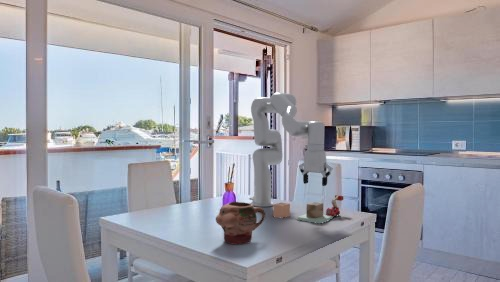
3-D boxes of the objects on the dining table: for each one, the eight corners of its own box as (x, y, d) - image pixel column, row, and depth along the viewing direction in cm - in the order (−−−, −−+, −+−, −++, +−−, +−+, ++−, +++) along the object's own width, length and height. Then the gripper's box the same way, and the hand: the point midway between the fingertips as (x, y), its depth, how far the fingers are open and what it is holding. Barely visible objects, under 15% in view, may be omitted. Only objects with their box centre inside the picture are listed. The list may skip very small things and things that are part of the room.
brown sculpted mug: (255, 233, 150) (255, 198, 150) (272, 240, 140) (272, 203, 139) (210, 240, 140) (210, 203, 139) (224, 248, 129) (225, 209, 129)
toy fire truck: (325, 218, 178) (325, 198, 178) (337, 213, 189) (337, 194, 188) (331, 219, 176) (331, 198, 176) (343, 214, 187) (343, 195, 186)
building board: (297, 220, 173) (297, 216, 173) (309, 215, 183) (310, 212, 183) (320, 224, 166) (320, 220, 166) (332, 219, 175) (332, 216, 175)
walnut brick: (306, 216, 173) (306, 204, 173) (313, 214, 179) (313, 202, 178) (316, 218, 170) (316, 205, 170) (323, 215, 175) (323, 203, 175)
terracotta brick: (273, 216, 180) (273, 204, 180) (281, 214, 185) (281, 202, 185) (281, 218, 177) (282, 205, 177) (289, 216, 182) (289, 203, 182)
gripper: (295, 147, 176) (294, 183, 177) (329, 149, 165) (328, 187, 166) (303, 146, 182) (302, 181, 182) (336, 148, 171) (335, 185, 172)
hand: (314, 184), depth 174 cm, fingers open, 9 cm apart
